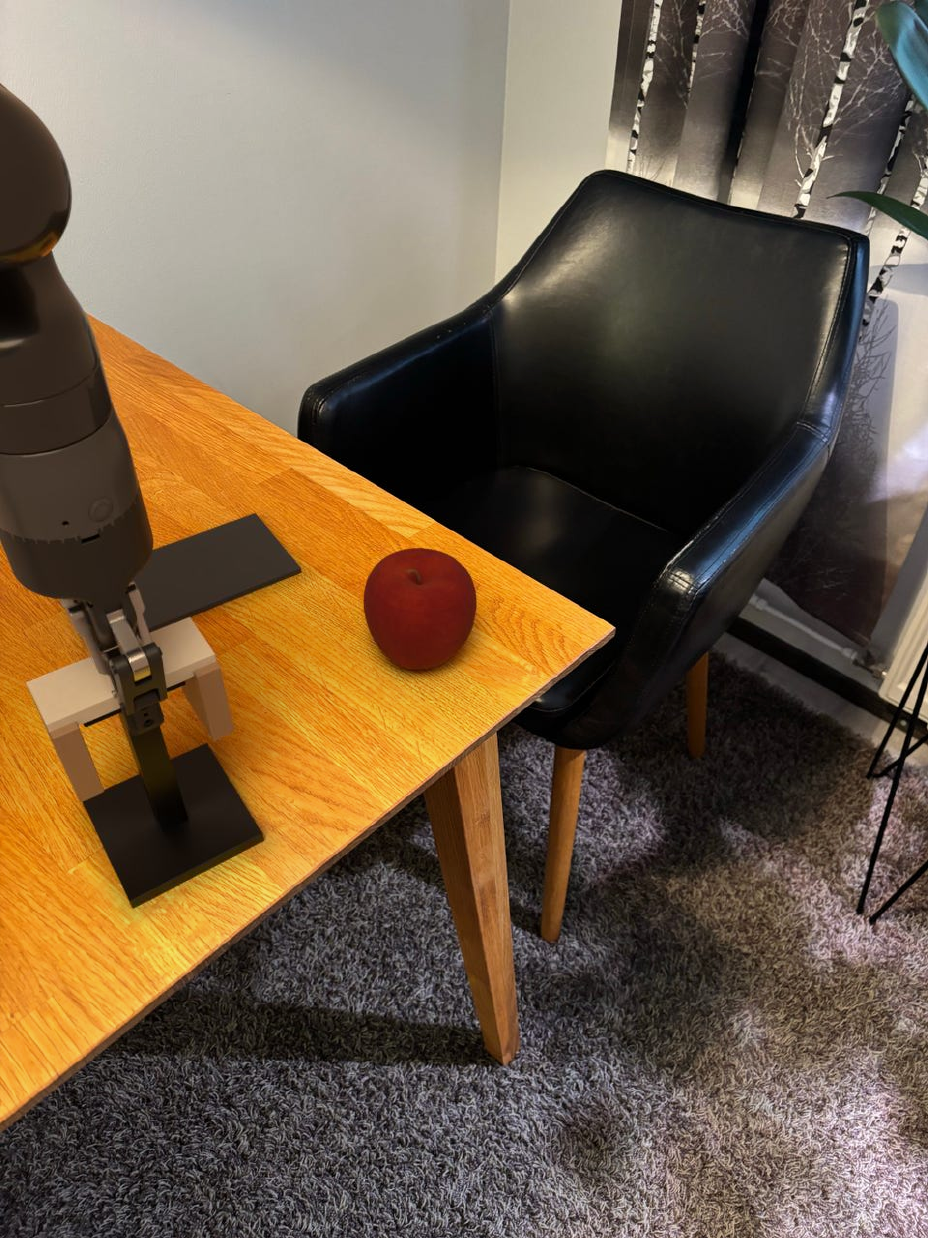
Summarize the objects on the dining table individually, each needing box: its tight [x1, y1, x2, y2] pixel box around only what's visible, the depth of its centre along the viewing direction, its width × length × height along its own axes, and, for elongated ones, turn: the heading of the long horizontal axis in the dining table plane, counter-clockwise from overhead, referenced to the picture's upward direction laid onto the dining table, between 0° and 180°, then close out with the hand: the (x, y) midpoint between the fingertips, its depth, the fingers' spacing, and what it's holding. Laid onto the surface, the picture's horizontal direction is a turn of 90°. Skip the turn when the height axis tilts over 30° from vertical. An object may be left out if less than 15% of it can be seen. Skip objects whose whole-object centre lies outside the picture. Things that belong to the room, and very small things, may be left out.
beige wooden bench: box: [25, 617, 235, 803], centre depth 63 cm, size 11×5×7 cm, turn 124°
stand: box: [81, 681, 265, 909], centre depth 66 cm, size 10×10×16 cm
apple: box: [363, 547, 478, 671], centre depth 82 cm, size 10×10×10 cm
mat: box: [132, 512, 302, 637], centre depth 91 cm, size 20×10×1 cm, turn 124°
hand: (133, 703), depth 62 cm, fingers closed on beige wooden bench, 4 cm apart
